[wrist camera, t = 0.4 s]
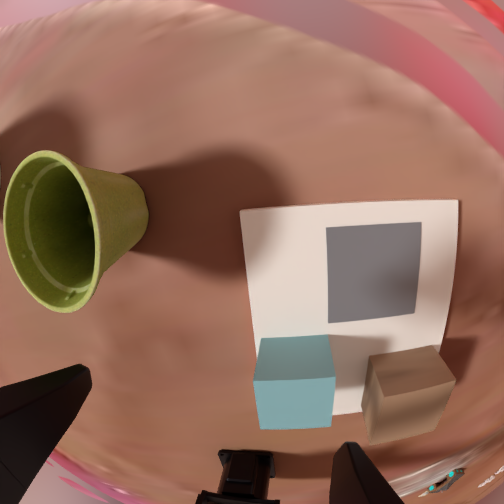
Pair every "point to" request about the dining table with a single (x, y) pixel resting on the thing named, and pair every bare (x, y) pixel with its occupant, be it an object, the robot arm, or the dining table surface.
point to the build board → (352, 278)
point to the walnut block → (405, 393)
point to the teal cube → (294, 382)
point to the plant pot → (69, 226)
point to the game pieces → (451, 479)
